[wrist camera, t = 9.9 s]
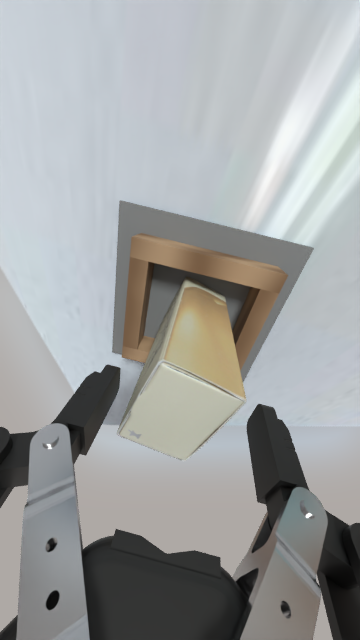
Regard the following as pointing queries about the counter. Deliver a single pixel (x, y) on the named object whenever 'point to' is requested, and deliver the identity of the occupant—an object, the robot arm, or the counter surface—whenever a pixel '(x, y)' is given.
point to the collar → (205, 262)
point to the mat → (170, 279)
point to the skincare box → (186, 377)
